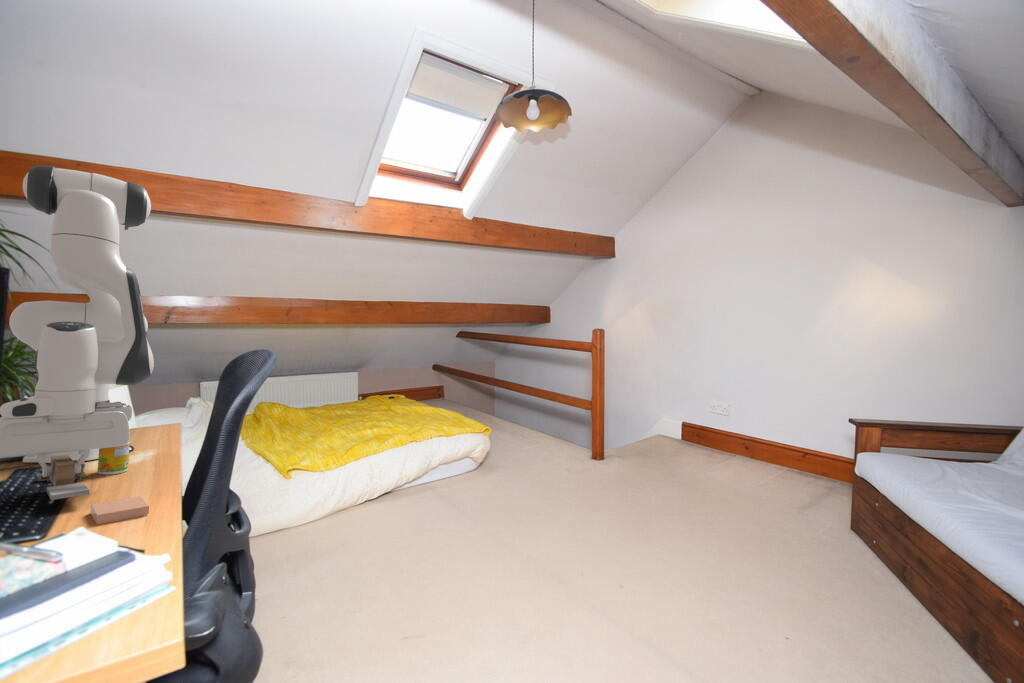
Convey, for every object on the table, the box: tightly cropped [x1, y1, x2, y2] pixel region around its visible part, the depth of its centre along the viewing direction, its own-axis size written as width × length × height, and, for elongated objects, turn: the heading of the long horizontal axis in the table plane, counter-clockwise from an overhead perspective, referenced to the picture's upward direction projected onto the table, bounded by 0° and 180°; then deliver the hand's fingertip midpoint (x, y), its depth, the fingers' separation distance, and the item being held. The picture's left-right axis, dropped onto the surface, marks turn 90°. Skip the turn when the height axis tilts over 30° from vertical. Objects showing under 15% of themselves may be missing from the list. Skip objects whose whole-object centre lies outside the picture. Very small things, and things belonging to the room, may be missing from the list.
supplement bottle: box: [97, 440, 131, 476], centre depth 109 cm, size 5×5×10 cm
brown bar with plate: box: [46, 455, 90, 501], centre depth 91 cm, size 17×5×4 cm, turn 49°
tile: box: [90, 495, 150, 525], centre depth 84 cm, size 2×7×7 cm
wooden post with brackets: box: [36, 460, 88, 481], centre depth 101 cm, size 2×8×4 cm, turn 105°
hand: (61, 474), depth 93 cm, fingers closed on brown bar with plate, 2 cm apart
